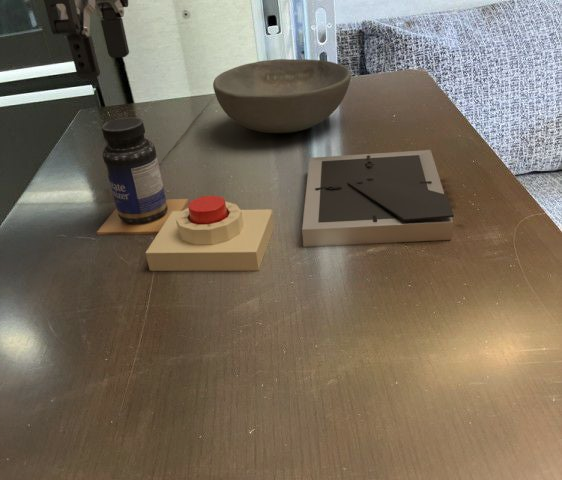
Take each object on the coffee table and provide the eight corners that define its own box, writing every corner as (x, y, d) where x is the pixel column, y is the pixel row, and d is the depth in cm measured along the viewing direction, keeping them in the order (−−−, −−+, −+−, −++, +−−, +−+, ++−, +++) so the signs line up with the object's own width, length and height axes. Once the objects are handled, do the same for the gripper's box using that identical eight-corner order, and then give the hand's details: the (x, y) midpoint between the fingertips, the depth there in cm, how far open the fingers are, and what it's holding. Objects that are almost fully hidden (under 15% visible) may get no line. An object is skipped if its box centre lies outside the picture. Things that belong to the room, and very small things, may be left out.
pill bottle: (110, 216, 78) (85, 125, 71) (152, 199, 81) (131, 111, 74) (135, 230, 74) (110, 136, 67) (178, 212, 77) (158, 120, 70)
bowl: (228, 112, 108) (221, 62, 103) (348, 101, 107) (347, 50, 102) (213, 156, 92) (204, 99, 87) (355, 145, 90) (354, 86, 85)
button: (186, 227, 66) (183, 211, 65) (196, 210, 69) (193, 195, 68) (222, 226, 65) (220, 211, 64) (231, 210, 68) (228, 195, 67)
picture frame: (451, 240, 66) (429, 165, 82) (453, 215, 64) (431, 144, 80) (303, 247, 68) (310, 173, 84) (301, 223, 66) (308, 152, 82)
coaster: (97, 235, 75) (96, 232, 75) (123, 203, 82) (122, 200, 82) (168, 234, 73) (167, 231, 73) (188, 201, 80) (188, 198, 80)
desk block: (149, 271, 67) (141, 237, 64) (176, 228, 74) (169, 196, 72) (258, 270, 65) (254, 235, 62) (274, 226, 72) (271, 193, 70)
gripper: (55, -126, 62) (98, 52, 73) (-20, -121, 52) (43, 87, 62) (126, -133, 61) (159, 49, 71) (64, -130, 50) (113, 84, 61)
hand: (105, 66), depth 67 cm, fingers open, 8 cm apart
